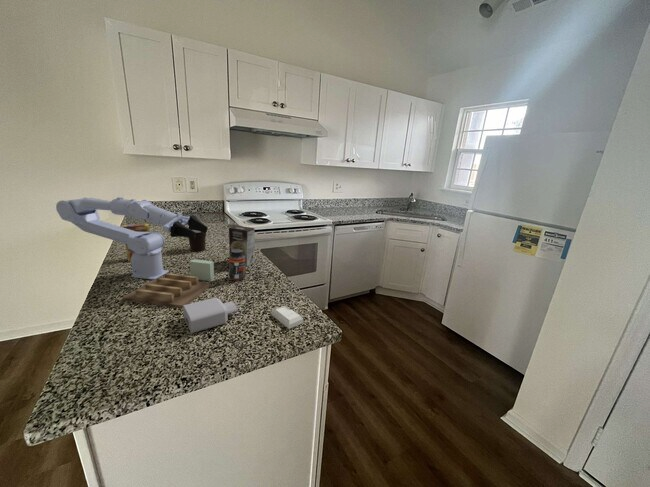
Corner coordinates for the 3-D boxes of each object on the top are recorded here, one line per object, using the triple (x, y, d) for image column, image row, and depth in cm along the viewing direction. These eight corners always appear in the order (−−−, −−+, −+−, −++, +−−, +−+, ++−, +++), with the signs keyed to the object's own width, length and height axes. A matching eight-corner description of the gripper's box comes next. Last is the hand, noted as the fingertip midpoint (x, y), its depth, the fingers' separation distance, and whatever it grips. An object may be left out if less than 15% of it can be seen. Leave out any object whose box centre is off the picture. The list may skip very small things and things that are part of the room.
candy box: (127, 262, 112) (122, 226, 108) (127, 258, 115) (122, 224, 111) (153, 259, 117) (148, 224, 113) (152, 255, 121) (148, 222, 116)
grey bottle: (246, 318, 80) (191, 335, 70) (235, 304, 86) (183, 318, 77) (246, 304, 78) (190, 319, 69) (234, 291, 85) (182, 303, 76)
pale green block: (190, 278, 102) (189, 261, 100) (194, 276, 104) (193, 259, 102) (210, 281, 101) (209, 263, 99) (214, 278, 103) (213, 261, 101)
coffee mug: (202, 253, 128) (201, 233, 125) (184, 251, 128) (183, 231, 125) (212, 246, 139) (212, 227, 137) (196, 244, 139) (195, 226, 137)
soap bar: (289, 330, 76) (289, 322, 75) (271, 316, 82) (271, 308, 81) (302, 324, 79) (303, 316, 78) (285, 311, 85) (285, 303, 85)
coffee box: (229, 263, 119) (227, 227, 114) (237, 258, 125) (236, 224, 120) (247, 266, 117) (246, 230, 112) (255, 261, 123) (254, 227, 118)
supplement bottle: (240, 282, 102) (240, 254, 98) (226, 280, 103) (225, 251, 99) (248, 276, 107) (247, 249, 104) (234, 274, 108) (233, 247, 105)
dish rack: (122, 300, 84) (120, 290, 83) (159, 279, 99) (158, 270, 98) (182, 308, 82) (181, 298, 81) (210, 286, 97) (210, 277, 96)
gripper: (152, 212, 87) (191, 227, 87) (179, 204, 101) (213, 217, 101) (149, 231, 89) (187, 246, 90) (176, 221, 103) (209, 234, 103)
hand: (201, 232), depth 95 cm, fingers open, 7 cm apart
